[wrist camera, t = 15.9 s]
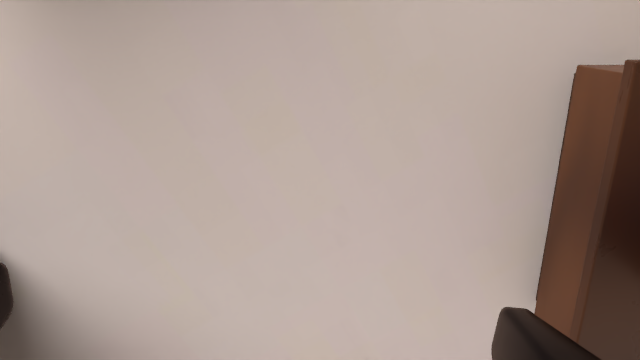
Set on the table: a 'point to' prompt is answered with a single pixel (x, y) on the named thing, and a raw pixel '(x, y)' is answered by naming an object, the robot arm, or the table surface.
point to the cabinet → (597, 217)
